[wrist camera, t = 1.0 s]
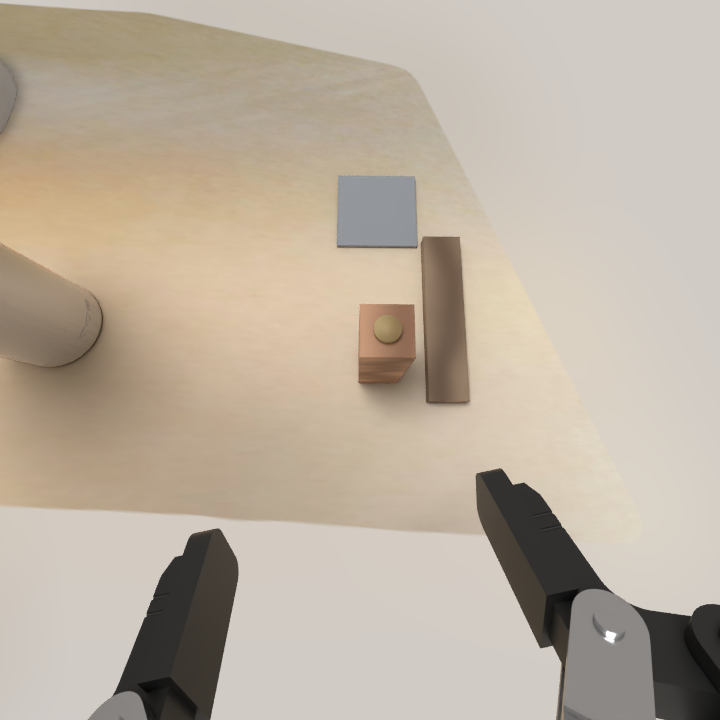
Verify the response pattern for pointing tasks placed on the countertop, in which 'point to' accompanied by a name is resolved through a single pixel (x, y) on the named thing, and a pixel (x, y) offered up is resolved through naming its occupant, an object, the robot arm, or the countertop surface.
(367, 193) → the slate mat
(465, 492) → the countertop surface
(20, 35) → the countertop surface
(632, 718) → the robot arm
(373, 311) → the post
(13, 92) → the lumpy-topped squat cylinder
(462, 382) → the walnut board
